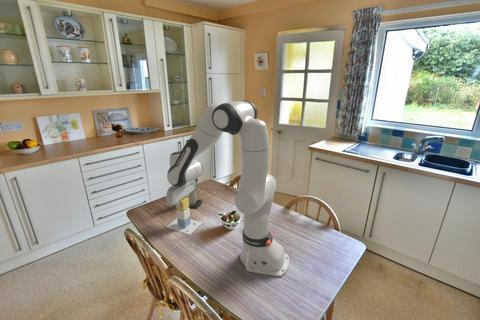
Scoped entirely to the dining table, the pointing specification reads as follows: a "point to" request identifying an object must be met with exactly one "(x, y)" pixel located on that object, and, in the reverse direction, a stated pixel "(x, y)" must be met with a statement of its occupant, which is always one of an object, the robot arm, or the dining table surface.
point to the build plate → (186, 230)
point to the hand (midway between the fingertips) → (182, 204)
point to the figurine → (194, 198)
